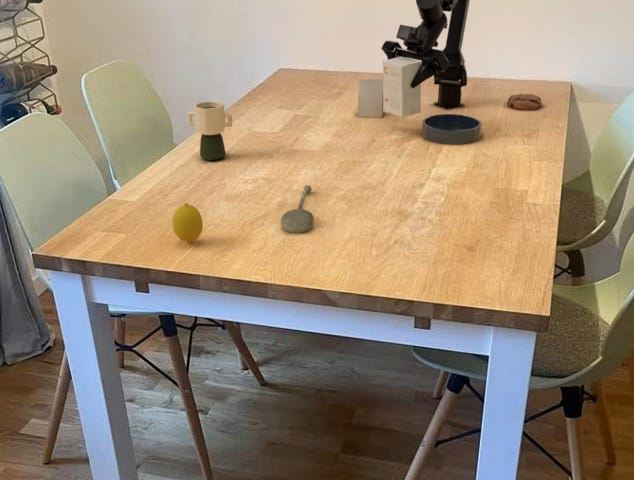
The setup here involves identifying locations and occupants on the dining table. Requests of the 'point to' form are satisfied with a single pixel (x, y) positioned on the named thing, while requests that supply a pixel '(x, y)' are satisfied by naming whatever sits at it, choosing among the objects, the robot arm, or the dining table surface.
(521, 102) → the cookie
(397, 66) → the small box
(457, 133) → the dish
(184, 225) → the lemon
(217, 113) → the character mug
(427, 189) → the dining table surface
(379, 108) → the grey rectangular block
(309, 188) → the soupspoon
